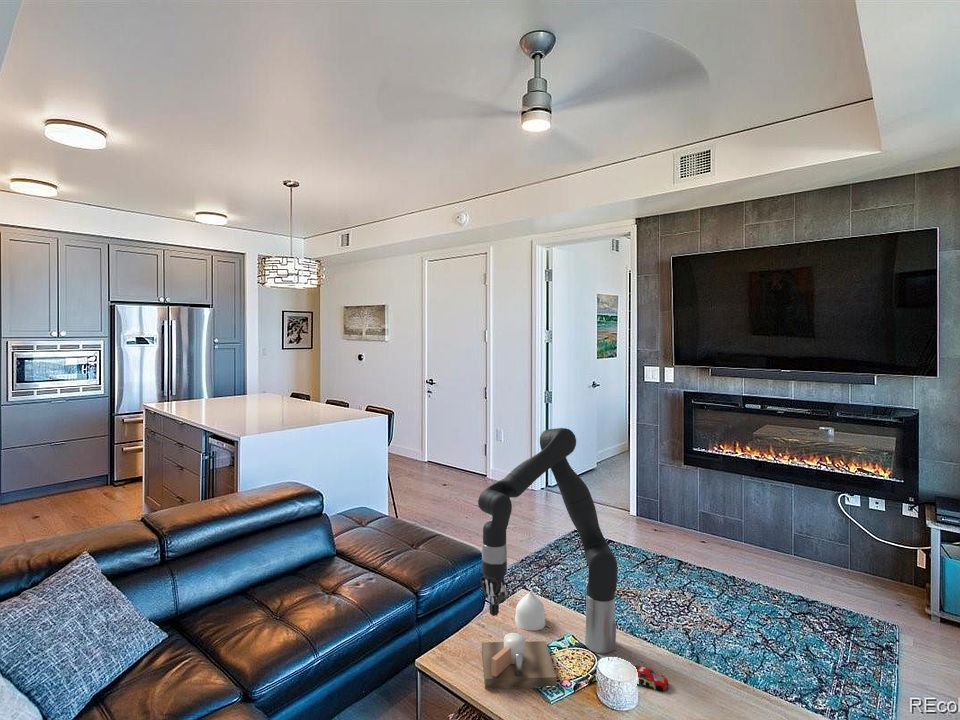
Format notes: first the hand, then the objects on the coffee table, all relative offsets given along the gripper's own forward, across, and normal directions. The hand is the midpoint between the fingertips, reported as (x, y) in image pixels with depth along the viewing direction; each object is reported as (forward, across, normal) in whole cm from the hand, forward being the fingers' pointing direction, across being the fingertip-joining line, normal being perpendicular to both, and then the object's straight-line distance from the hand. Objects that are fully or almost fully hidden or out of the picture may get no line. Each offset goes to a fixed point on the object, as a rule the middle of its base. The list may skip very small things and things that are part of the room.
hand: (494, 614), depth 153 cm
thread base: (+19, +1, +8) cm, 21 cm away
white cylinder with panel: (+16, +1, +4) cm, 16 cm away
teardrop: (+20, -18, +29) cm, 39 cm away
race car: (+20, +26, +37) cm, 50 cm away
